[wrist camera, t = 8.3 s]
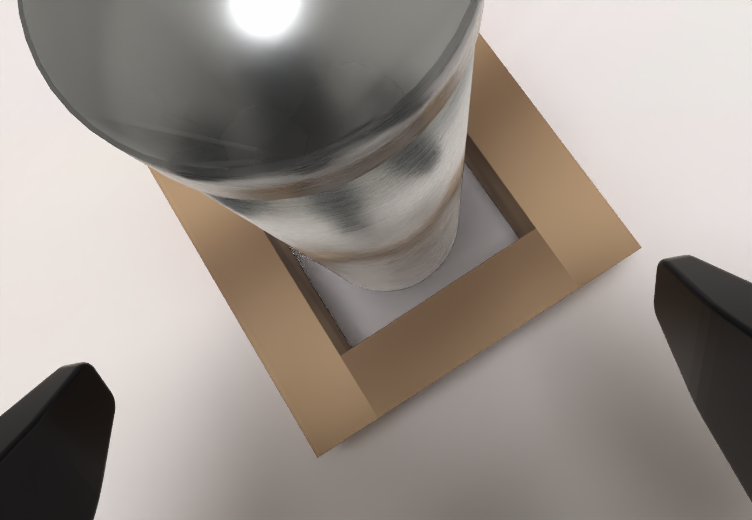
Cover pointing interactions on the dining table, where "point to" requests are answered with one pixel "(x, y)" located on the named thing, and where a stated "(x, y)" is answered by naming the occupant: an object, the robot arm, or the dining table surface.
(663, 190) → the dining table surface
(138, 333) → the dining table surface
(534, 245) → the frame
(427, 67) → the metal canister
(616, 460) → the dining table surface
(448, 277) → the dining table surface
